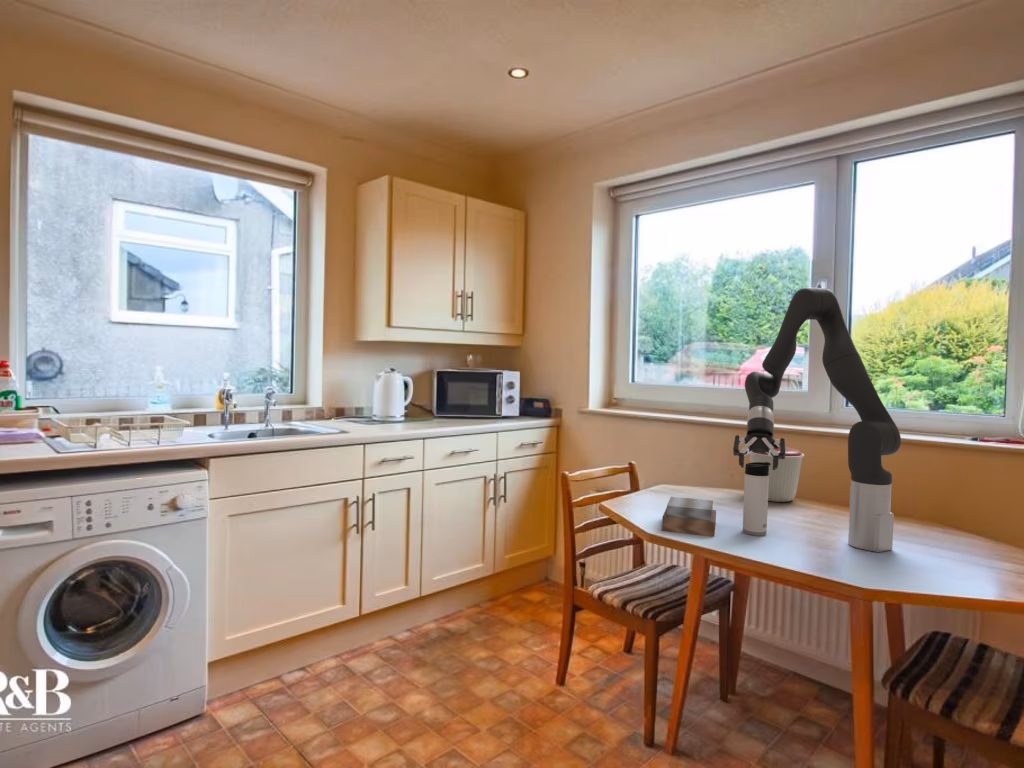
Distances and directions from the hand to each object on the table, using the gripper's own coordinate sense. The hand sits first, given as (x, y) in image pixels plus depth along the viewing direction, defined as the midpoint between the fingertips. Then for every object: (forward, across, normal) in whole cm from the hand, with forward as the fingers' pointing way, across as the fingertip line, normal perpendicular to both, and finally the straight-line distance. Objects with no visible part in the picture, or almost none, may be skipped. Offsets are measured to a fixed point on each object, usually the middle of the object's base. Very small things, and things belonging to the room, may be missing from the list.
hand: (758, 467), depth 176 cm
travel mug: (+17, 0, +8) cm, 19 cm away
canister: (-17, +5, +42) cm, 45 cm away
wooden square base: (+19, -18, +6) cm, 26 cm away
